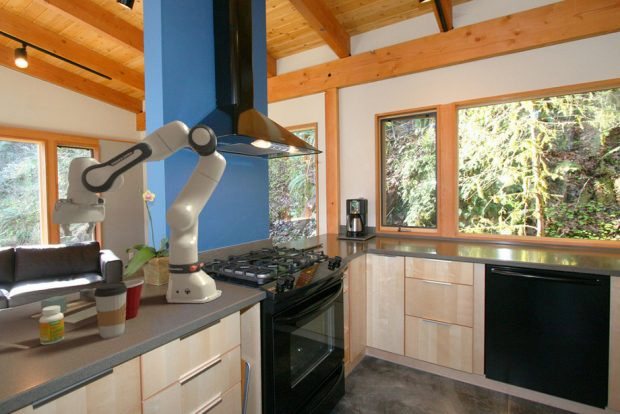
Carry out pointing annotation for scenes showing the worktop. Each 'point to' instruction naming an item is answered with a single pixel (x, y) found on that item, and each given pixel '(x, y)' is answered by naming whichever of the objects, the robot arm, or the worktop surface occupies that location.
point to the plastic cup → (133, 297)
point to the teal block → (55, 303)
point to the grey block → (81, 315)
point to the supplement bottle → (51, 325)
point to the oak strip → (85, 299)
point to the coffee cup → (111, 308)
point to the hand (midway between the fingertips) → (79, 234)
